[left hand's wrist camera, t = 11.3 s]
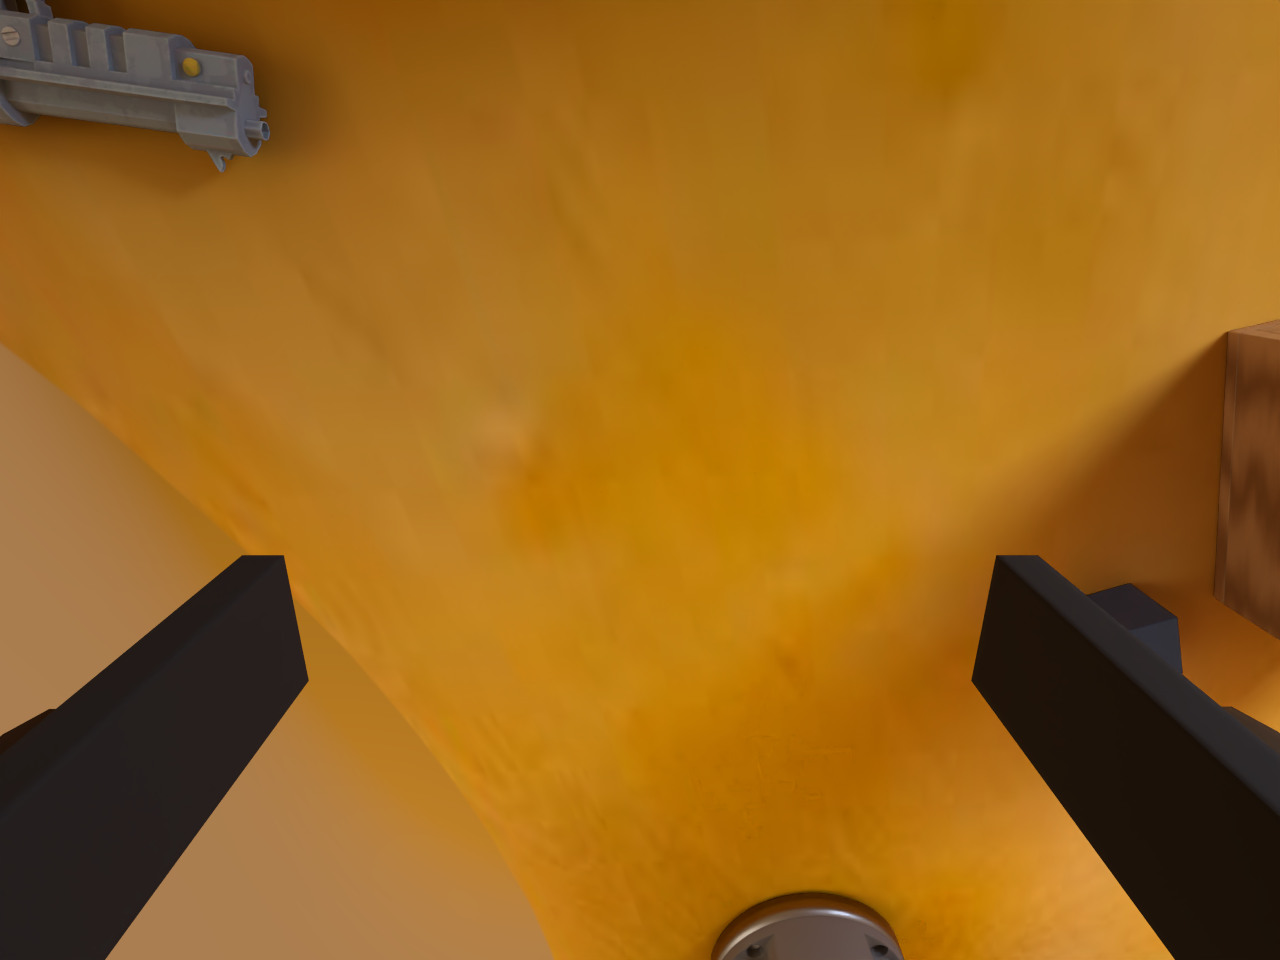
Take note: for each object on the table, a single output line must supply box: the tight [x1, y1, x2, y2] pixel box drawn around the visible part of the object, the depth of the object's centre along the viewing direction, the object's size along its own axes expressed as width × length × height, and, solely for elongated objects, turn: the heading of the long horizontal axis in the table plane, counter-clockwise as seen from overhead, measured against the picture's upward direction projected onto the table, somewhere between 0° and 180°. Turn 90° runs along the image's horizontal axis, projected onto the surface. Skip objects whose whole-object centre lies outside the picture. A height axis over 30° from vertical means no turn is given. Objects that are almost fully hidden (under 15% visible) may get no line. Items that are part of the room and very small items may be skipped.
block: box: [1087, 583, 1183, 674], centre depth 43 cm, size 4×4×4 cm
